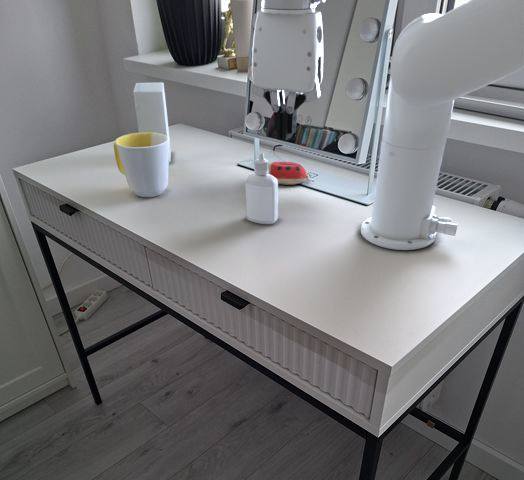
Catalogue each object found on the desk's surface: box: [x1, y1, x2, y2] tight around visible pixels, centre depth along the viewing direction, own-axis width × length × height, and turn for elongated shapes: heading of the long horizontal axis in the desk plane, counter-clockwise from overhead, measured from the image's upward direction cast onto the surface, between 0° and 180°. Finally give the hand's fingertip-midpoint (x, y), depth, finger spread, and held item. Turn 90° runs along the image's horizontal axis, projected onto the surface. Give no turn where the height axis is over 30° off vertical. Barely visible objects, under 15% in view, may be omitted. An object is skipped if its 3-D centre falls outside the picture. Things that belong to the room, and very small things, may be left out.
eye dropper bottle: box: [245, 151, 279, 225], centre depth 88 cm, size 4×6×12 cm
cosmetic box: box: [132, 81, 172, 164], centre depth 115 cm, size 8×7×16 cm
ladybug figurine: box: [268, 161, 310, 186], centre depth 106 cm, size 7×10×4 cm
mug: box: [113, 132, 169, 198], centre depth 101 cm, size 14×10×10 cm
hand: (284, 137), depth 81 cm, fingers closed
